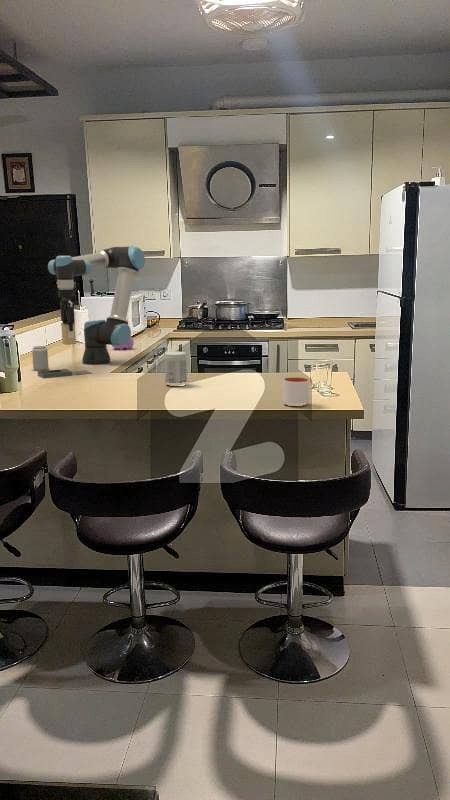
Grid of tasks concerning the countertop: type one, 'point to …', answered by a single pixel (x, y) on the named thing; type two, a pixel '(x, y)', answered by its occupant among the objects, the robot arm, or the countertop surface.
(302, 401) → the cup
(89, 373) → the rubber pad
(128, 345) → the teapot
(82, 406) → the countertop surface
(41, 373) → the dark grey flat slab
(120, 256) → the robot arm
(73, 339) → the nut block
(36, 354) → the can
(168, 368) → the supplement tub
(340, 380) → the countertop surface
